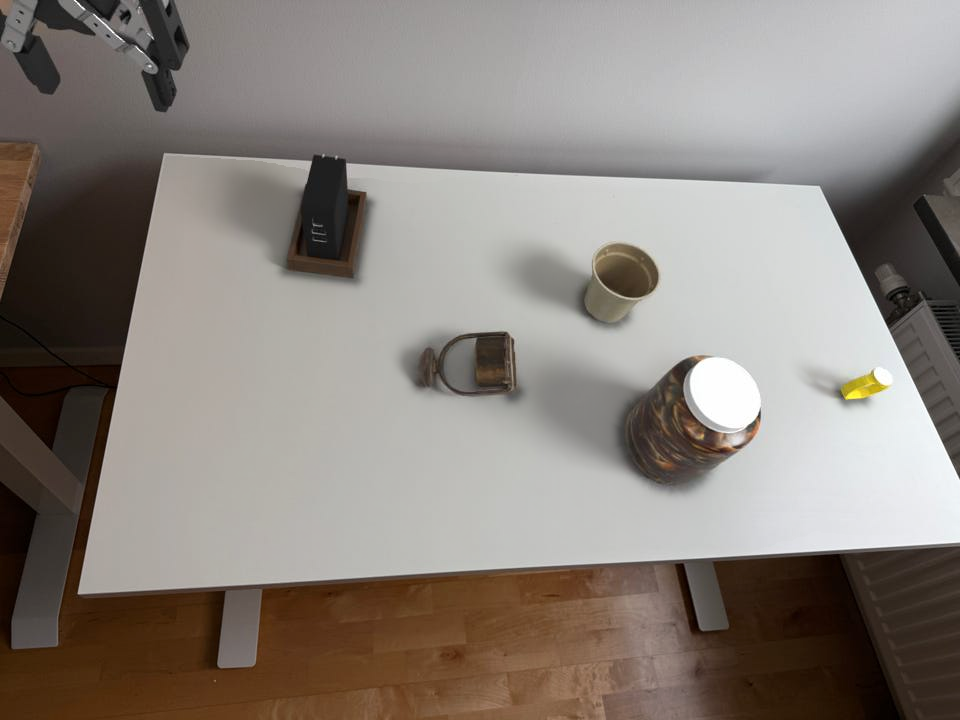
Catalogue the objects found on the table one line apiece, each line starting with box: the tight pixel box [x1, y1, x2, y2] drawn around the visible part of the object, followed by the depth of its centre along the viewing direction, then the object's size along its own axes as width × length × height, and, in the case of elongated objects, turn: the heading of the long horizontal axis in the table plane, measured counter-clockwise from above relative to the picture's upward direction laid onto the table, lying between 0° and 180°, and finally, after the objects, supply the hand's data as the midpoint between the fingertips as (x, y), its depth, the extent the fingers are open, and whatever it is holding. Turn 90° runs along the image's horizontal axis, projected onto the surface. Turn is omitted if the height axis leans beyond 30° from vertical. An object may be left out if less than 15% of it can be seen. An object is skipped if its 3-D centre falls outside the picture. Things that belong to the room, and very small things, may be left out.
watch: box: [839, 366, 893, 401], centre depth 83 cm, size 6×3×6 cm, turn 99°
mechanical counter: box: [418, 330, 517, 397], centre depth 75 cm, size 7×13×10 cm
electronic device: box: [300, 153, 349, 261], centre depth 80 cm, size 4×10×10 cm, turn 178°
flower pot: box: [583, 241, 662, 324], centre depth 83 cm, size 9×9×9 cm
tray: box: [286, 182, 368, 279], centre depth 84 cm, size 9×14×2 cm, turn 177°
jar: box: [623, 354, 762, 487], centre depth 71 cm, size 12×12×15 cm
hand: (109, 96), depth 48 cm, fingers open, 8 cm apart
